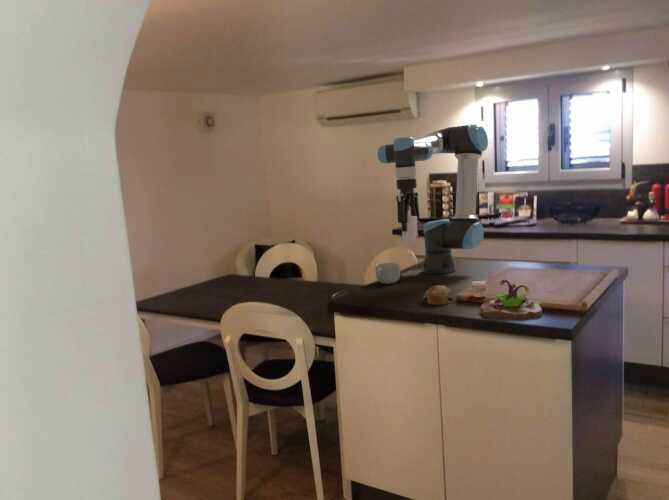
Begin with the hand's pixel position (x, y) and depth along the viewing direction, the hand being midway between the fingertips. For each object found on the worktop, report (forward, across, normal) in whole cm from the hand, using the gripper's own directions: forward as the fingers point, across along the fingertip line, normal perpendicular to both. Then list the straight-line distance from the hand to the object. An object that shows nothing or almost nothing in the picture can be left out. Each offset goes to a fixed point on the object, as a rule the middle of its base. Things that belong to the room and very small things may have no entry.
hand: (410, 238), depth 233 cm
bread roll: (+22, +10, +15) cm, 28 cm away
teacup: (+22, -14, -20) cm, 33 cm away
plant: (+22, +16, +43) cm, 51 cm away
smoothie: (+2, 0, 0) cm, 2 cm away
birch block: (+22, -2, +26) cm, 34 cm away
